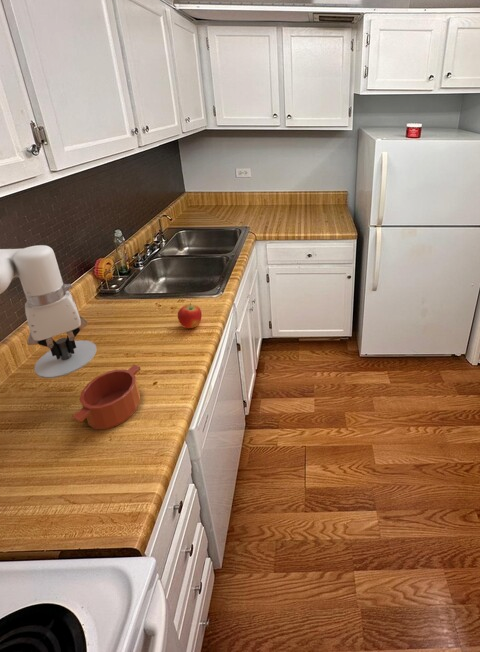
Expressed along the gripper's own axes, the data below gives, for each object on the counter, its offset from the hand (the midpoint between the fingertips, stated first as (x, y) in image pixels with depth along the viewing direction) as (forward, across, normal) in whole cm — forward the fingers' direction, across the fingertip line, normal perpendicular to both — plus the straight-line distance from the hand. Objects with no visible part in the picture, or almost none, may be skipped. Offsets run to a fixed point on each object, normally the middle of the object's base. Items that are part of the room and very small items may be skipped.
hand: (65, 353), depth 89 cm
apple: (+15, -36, -10) cm, 40 cm away
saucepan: (+15, -7, +11) cm, 20 cm away
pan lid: (+2, 0, 0) cm, 2 cm away
